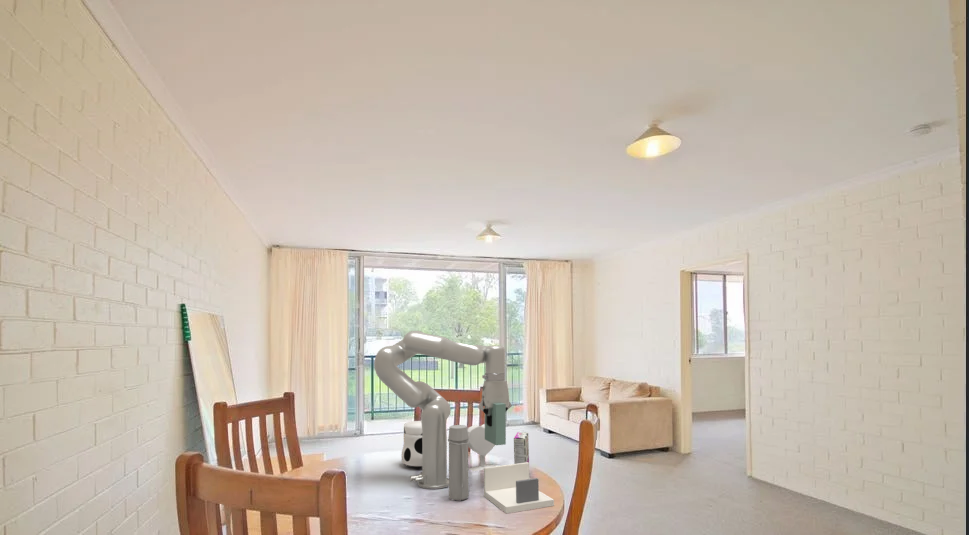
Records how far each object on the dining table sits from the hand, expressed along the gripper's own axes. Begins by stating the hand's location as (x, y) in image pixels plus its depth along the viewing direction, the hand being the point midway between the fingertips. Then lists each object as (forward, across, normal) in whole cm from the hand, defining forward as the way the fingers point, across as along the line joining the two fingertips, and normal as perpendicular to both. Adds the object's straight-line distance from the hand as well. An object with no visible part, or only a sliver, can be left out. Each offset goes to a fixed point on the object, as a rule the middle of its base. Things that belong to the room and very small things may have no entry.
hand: (495, 424), depth 205 cm
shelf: (+23, 0, -19) cm, 30 cm away
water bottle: (+23, -18, -8) cm, 30 cm away
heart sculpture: (+23, +6, +26) cm, 35 cm away
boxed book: (+6, 0, 0) cm, 6 cm away
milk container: (+24, -18, +41) cm, 50 cm away
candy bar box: (+23, +16, +8) cm, 29 cm away
